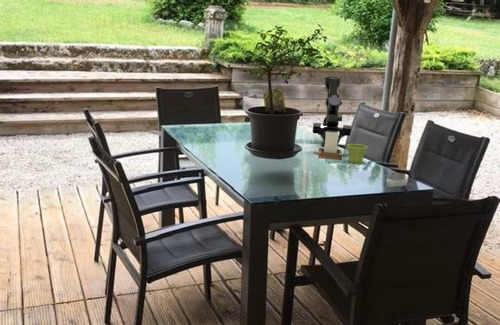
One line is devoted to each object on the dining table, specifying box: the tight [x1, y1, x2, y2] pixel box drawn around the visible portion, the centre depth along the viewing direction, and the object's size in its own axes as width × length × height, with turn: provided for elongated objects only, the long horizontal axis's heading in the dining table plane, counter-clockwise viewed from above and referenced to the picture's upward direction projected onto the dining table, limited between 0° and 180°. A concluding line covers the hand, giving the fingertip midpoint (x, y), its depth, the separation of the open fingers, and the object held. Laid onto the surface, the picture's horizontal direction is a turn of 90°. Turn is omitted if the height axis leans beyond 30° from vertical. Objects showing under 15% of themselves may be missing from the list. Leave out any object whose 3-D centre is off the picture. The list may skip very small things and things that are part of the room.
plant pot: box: [346, 143, 368, 165], centre depth 263 cm, size 9×9×9 cm
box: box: [317, 147, 343, 161], centre depth 272 cm, size 12×11×3 cm
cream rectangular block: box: [323, 131, 339, 153], centre depth 271 cm, size 3×6×12 cm, turn 84°
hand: (331, 143), depth 270 cm, fingers closed on cream rectangular block, 6 cm apart
